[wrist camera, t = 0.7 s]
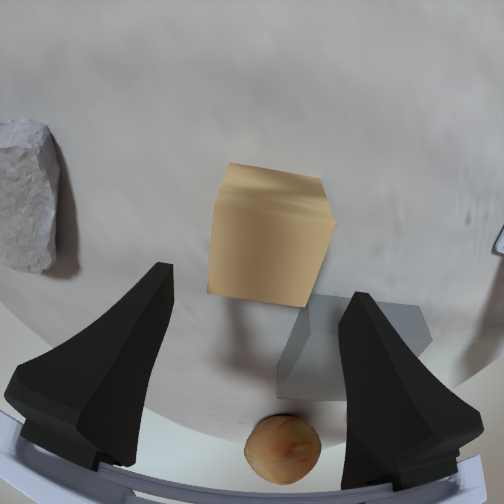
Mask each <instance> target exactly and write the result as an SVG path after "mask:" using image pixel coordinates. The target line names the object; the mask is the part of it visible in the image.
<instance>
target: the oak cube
mask: <svg viewBox="0 0 504 504" xmlns="http://www.w3.org/2000/svg"><path fill="white" fill-rule="evenodd" d="M335 227H336V223H335V220H334V217H333V214H332V211H331V209H330V206H329V203H328V200H327V197H326V195H325V192H324V189H323V187H322V184H321V181H320V179H318V178H313V177H308V176H303V175H298V174H293V173H288V172H282V171H277V170H271V169H265V168H259V167H253V166H247V165H240V164H234V163H230V164H229V166H228V169H227V172H226V174H225V177H224V180H223V182H222V185H221V188H220V190H219V193H218V196H217V198H216V201H215V204H214V214H213V224H212V235H211V247H210V259H209V271H208V285H207V293H208V294H214V295H220V296H227V297H233V298H240V299H246V300H253V301H260V302H267V303H274V304H281V305H289V306H296V307H304V308H305V306H306V304H307V301H308V299H309V296H310V294H311V291H312V289H313V286H314V283H315V281H316V278H317V276H318V273H319V270H320V268H321V265H322V263H323V260H324V257H325V254H326V252H327V249H328V246H329V243H330V241H331V238H332V235H333V232H334V229H335Z"/></svg>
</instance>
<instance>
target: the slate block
mask: <svg viewBox="0 0 504 504" xmlns="http://www.w3.org/2000/svg"><path fill="white" fill-rule="evenodd" d="M351 299H352V298H344V297H336V296H328V295H320V294H313V293H311V294H310V296H309V299H308V301H307V304H306V306H305V308H304V307H301V309H300V312H299V314H298V317H297V319H296V322H295V324H294V327H293V329H292V332H291V334H290V337H289V339H288V341H287V344H286V346H285V348H284V351H283V353H282V356H281V358H280V360H279V363H278V365H277V398H279V399H294V400H314V401H347V397H346V388H345V382H344V375H343V369H342V363H341V357H340V351H339V340H338V323H339V321H340V319H341V318H342V316H343V314H344V312H345V310H346V308H347V306H348V304H349V303H350V301H351ZM375 302H376V304H377V305H378V306H379V308H380V309H381V311H382V312H383V313H384V315H385V316H386V318H387V319H388V320H389V322H390V323H391V325H392V326H393V327H394V329H395V330H396V331H397V333H398V334H399V335H400V337H401V338H402V339H403V341H404V342H405V343H406V345H407V346H408V347H409V348H410V350H411V351H412V352H413V353H414V354H415V356H416V357H417V358H418V357H419V355H420V354H421V353H422V352H423V351H424V350H425V349H426V347H427V346H428V345H429V344H430V343H431V342H432V337H431V335H430V332H429V329H428V327H427V324H426V322H425V319H424V317H423V315H422V312H421V310H420V308H419V306H414V305H404V304H395V303H386V302H377V301H375Z"/></svg>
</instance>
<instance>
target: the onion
mask: <svg viewBox="0 0 504 504" xmlns="http://www.w3.org/2000/svg"><path fill="white" fill-rule="evenodd" d="M320 453H321V441H320V439H319V436H318V434H317V433H316V431H315V430H314V428H313V427H312V426H310V425H309V424H308V423H307V422H306V421H304V420H303V419H300V418H297V417H292V416H273V417H270V418H268V419H266V420H264V421H263V422H261V423H260V424H259V425H258V426H256V427H255V429H254V430H253V431H252V433H251V434H250V436H249V438H248V439H247V442H246V445H245V448H244V455H245V458H246V460H247V461H248V463H249V464H250V466H251V467H252V469H253V470H254V471H255V472H256V473H257V474H258V475H259V476H261V477H262V478H263V479H265V480H267V481H269V482H272V483H275V484H278V485H289V484H292V483H294V482H296V481H298V480H300V479H302V478H303V477H304V476H306V475H307V474H308V473H309V472H310V471H311V470H312V469H313V467H314V466H315V465H316V463H317V461H318V459H319V456H320Z"/></svg>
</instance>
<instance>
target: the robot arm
mask: <svg viewBox="0 0 504 504" xmlns="http://www.w3.org/2000/svg"><path fill="white" fill-rule="evenodd" d="M495 249H496V250H497V252H500V253H503V254H504V229H503V231H502V233H501V235H500V237H499V239H498V240H497V242H496V244H495ZM173 305H174V279H173V264H168V263H162V262H157V263H156V264H155V265H154V266H153V267H152V268H151V269H150V270H149V271H148V272H147V273H146V274H145V275H144V276H143V277H142V278H141V279H140V281H139V282H138V283H137V284H136V285H135V286H134V287H133V288H132V289H131V290H129V291H128V292H127V293H126V294H125V295H124V296H123V297H122V298H121V299H120V300H119V301H118V302H117V303H116V304H115V305H113V306H112V307H111V308H110V309H109V310H108V311H107V312H106V313H104V314H103V315H102V316H101V317H100V318H98V319H97V320H96V321H94V322H93V323H92V324H91V325H89V326H88V327H87V328H85V329H84V330H82V331H81V332H79V333H78V334H76V335H75V336H74V337H72V338H71V339H69V340H67V341H66V342H64V343H62V344H61V345H59V346H57V347H55V348H54V349H52V350H50V351H48V352H46V353H45V354H43V355H41V356H39V357H36V358H34V359H32V360H30V361H27V362H25V363H23V364H20V365H18V366H17V368H16V370H15V372H14V374H13V375H12V378H11V380H10V382H9V384H8V386H7V389H6V391H5V393H4V397H5V399H6V401H7V402H8V403H9V404H10V405H11V406H12V407H13V408H14V409H15V410H17V411H18V412H19V413H20V414H21V415H22V416H23V417H25V418H26V420H25V423H24V424H22V423H21V422H19V421H18V420H16V419H14V418H13V417H11V416H9V415H8V414H6V413H4V412H3V411H1V410H0V477H1V478H2V479H4V480H5V481H6V482H8V483H9V484H11V485H12V486H13V487H15V488H16V489H18V490H19V491H21V492H22V493H24V494H25V495H27V496H28V497H29V498H31V499H32V500H34V501H36V502H37V503H39V504H164V503H160V502H156V501H152V500H148V499H144V498H141V497H137V496H136V495H135V493H134V491H133V490H135V491H139V492H143V493H146V494H150V495H154V496H159V497H163V498H167V499H172V500H177V501H182V502H188V503H194V504H481V503H483V502H484V501H486V500H487V496H486V489H485V481H484V475H483V469H482V464H481V459H480V455H479V454H477V455H475V456H472V457H470V458H467V459H464V460H462V461H460V462H457V461H456V457H458V456H459V455H460V452H459V448H460V447H462V446H464V445H466V444H467V443H469V442H470V441H472V440H474V439H475V438H477V437H478V436H479V435H481V434H482V433H483V431H484V427H483V423H482V419H481V415H480V412H479V411H477V410H476V409H474V408H473V407H471V406H470V405H468V404H467V403H465V402H464V401H463V400H461V399H460V398H459V397H458V396H456V395H455V394H454V393H452V392H451V391H450V390H449V389H448V388H447V387H446V386H444V385H443V384H442V383H441V382H440V381H439V380H438V379H437V378H436V377H435V376H434V375H433V374H432V373H431V372H430V371H429V370H428V369H427V368H426V367H425V366H424V365H423V364H422V362H421V361H420V360H419V359H418V358H417V357H416V356H415V354H414V353H413V352H412V351H411V350H410V348H409V347H408V346H407V345H406V343H405V342H404V341H403V339H402V338H401V337H400V335H399V334H398V333H397V331H396V330H395V329H394V327H393V326H392V325H391V323H390V322H389V320H388V319H387V318H386V316H385V315H384V313H383V312H382V311H381V309H380V308H379V306H378V305H377V304H376V302H375V301H374V300H373V298H372V297H371V296H370V295H369V293H364V292H356V291H355V293H354V295H353V297H352V299H351V301H350V303H349V304H348V306H347V308H346V310H345V312H344V314H343V316H342V318H341V319H340V321H339V323H338V340H339V351H340V357H341V363H342V369H343V375H344V382H345V388H346V397H347V441H346V454H345V462H344V469H343V475H342V481H341V490H339V491H328V492H313V493H256V492H240V491H229V490H219V489H212V488H205V487H198V486H192V485H186V484H181V483H176V482H171V481H166V480H162V479H158V478H153V477H149V476H146V475H142V474H138V473H135V472H131V471H128V470H124V469H121V468H118V467H115V466H113V465H117V466H125V467H130V466H132V465H134V464H135V463H136V452H137V444H138V436H139V430H140V423H141V417H142V411H143V407H144V401H145V396H146V392H147V387H148V383H149V379H150V375H151V372H152V369H153V366H154V363H155V360H156V357H157V355H158V352H159V349H160V346H161V344H162V341H163V338H164V336H165V333H166V330H167V327H168V325H169V321H170V317H171V313H172V309H173ZM131 489H132V490H131Z"/></svg>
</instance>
